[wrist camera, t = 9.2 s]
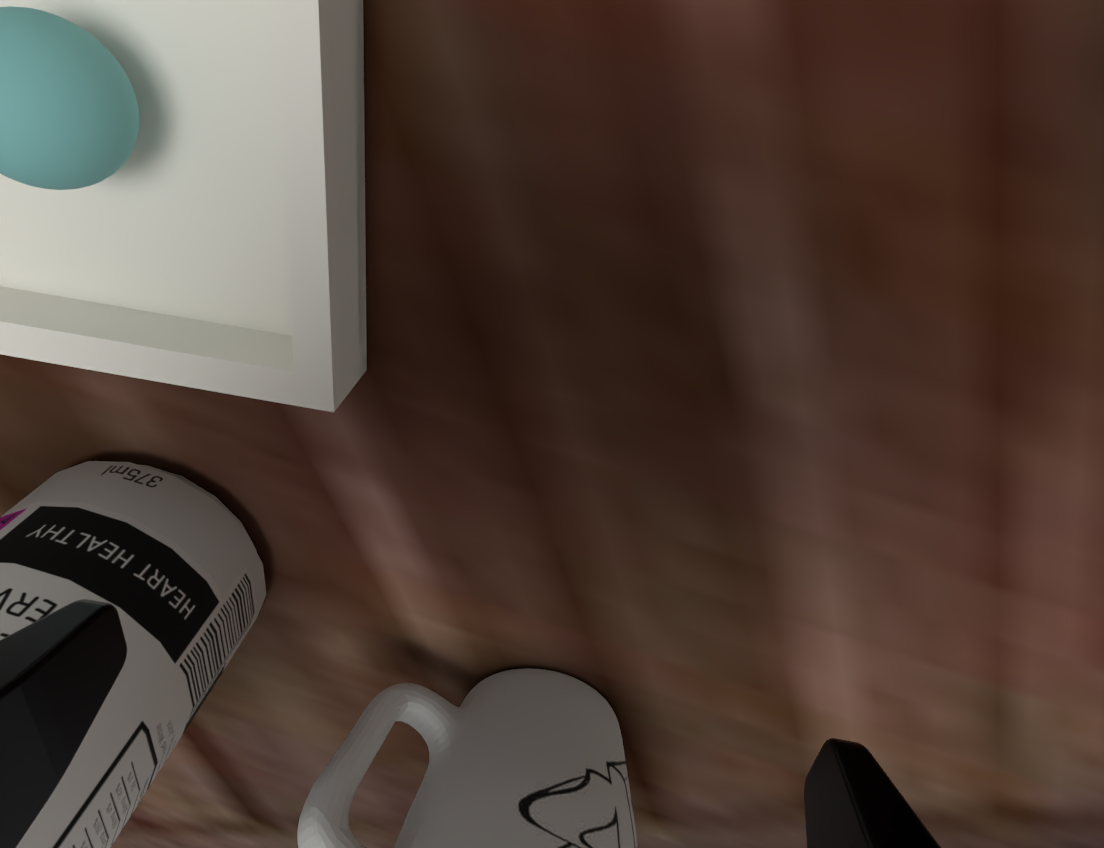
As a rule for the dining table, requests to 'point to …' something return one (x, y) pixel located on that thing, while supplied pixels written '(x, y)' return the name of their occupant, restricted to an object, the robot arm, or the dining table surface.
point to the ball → (61, 103)
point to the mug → (491, 768)
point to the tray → (208, 208)
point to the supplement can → (130, 620)
